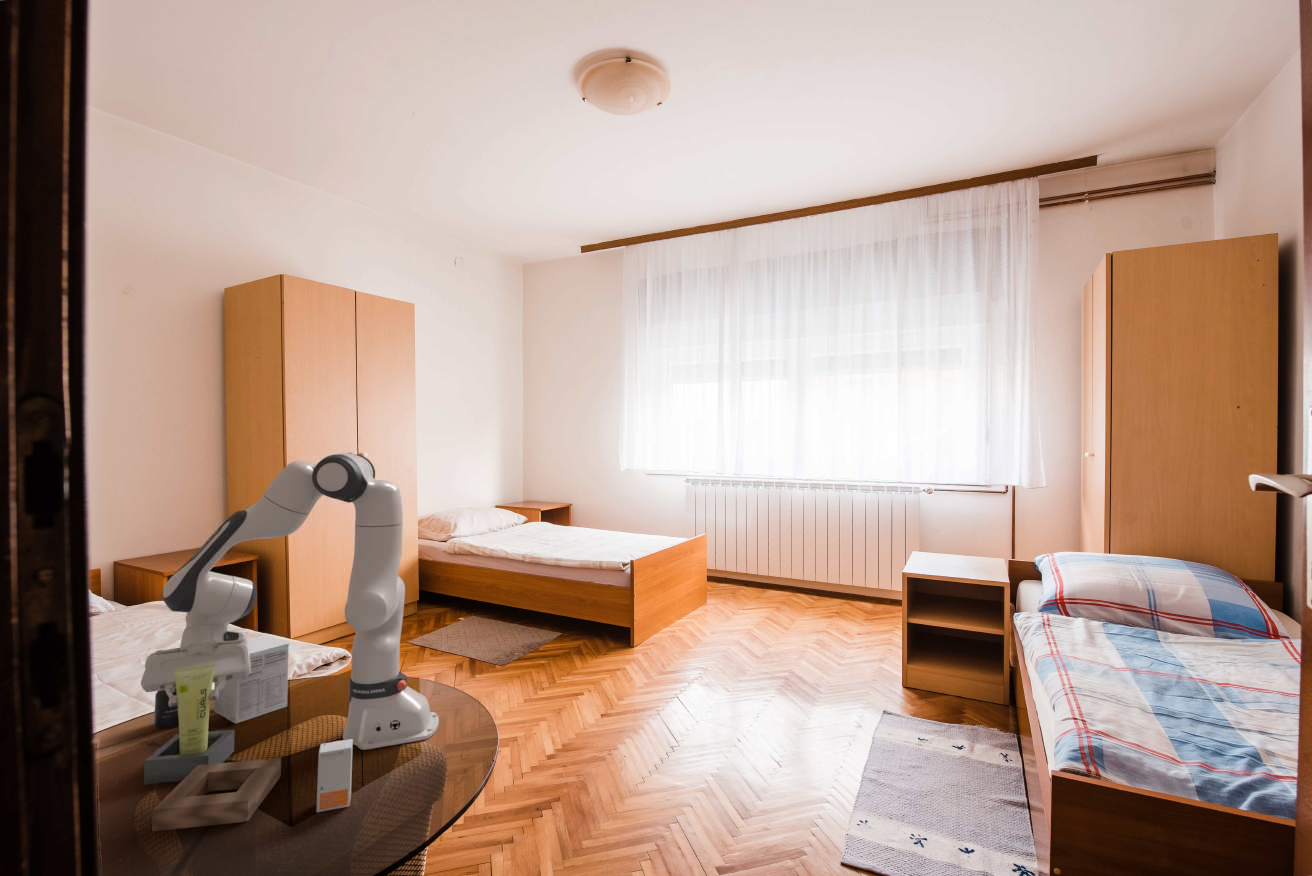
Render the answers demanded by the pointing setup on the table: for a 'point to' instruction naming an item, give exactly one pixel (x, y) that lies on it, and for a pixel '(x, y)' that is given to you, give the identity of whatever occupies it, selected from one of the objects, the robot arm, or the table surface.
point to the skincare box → (334, 775)
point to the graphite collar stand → (186, 758)
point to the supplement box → (257, 683)
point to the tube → (193, 706)
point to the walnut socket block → (202, 810)
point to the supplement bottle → (165, 711)
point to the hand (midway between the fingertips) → (193, 701)
